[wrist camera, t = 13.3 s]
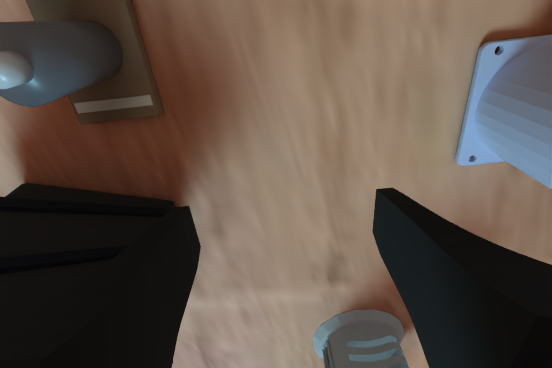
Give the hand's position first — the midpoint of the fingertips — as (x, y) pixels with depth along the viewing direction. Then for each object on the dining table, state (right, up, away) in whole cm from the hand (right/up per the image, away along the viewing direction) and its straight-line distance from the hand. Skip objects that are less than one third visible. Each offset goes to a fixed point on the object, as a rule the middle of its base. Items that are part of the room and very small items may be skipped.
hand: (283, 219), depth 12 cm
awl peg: (-10, +9, +5) cm, 15 cm away
